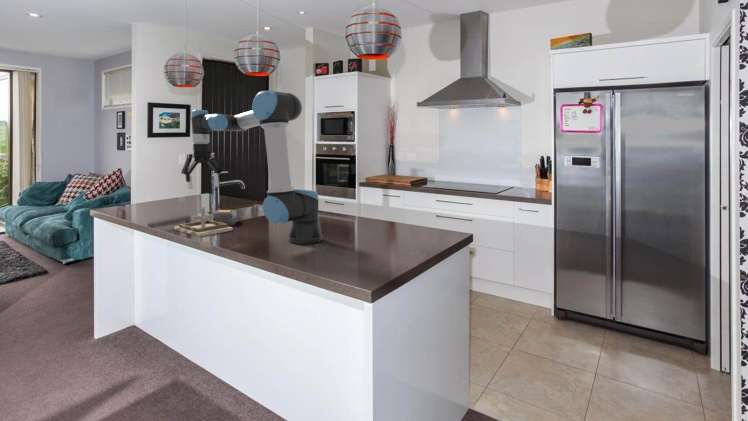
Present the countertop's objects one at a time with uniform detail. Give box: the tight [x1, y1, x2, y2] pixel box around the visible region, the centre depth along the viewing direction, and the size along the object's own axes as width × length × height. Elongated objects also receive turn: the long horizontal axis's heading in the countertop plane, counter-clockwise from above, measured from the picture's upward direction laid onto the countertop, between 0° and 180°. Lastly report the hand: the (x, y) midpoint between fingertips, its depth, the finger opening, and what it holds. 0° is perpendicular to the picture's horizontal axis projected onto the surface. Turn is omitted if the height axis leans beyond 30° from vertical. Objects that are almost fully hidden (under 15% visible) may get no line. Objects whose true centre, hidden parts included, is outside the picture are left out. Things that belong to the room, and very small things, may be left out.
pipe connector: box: [191, 206, 214, 228], centre depth 217 cm, size 10×10×10 cm
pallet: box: [173, 219, 234, 238], centre depth 218 cm, size 22×18×3 cm
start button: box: [217, 209, 233, 213], centre depth 236 cm, size 6×6×3 cm
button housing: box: [212, 209, 239, 226], centre depth 236 cm, size 11×11×6 cm
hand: (203, 187), depth 215 cm, fingers open, 13 cm apart
